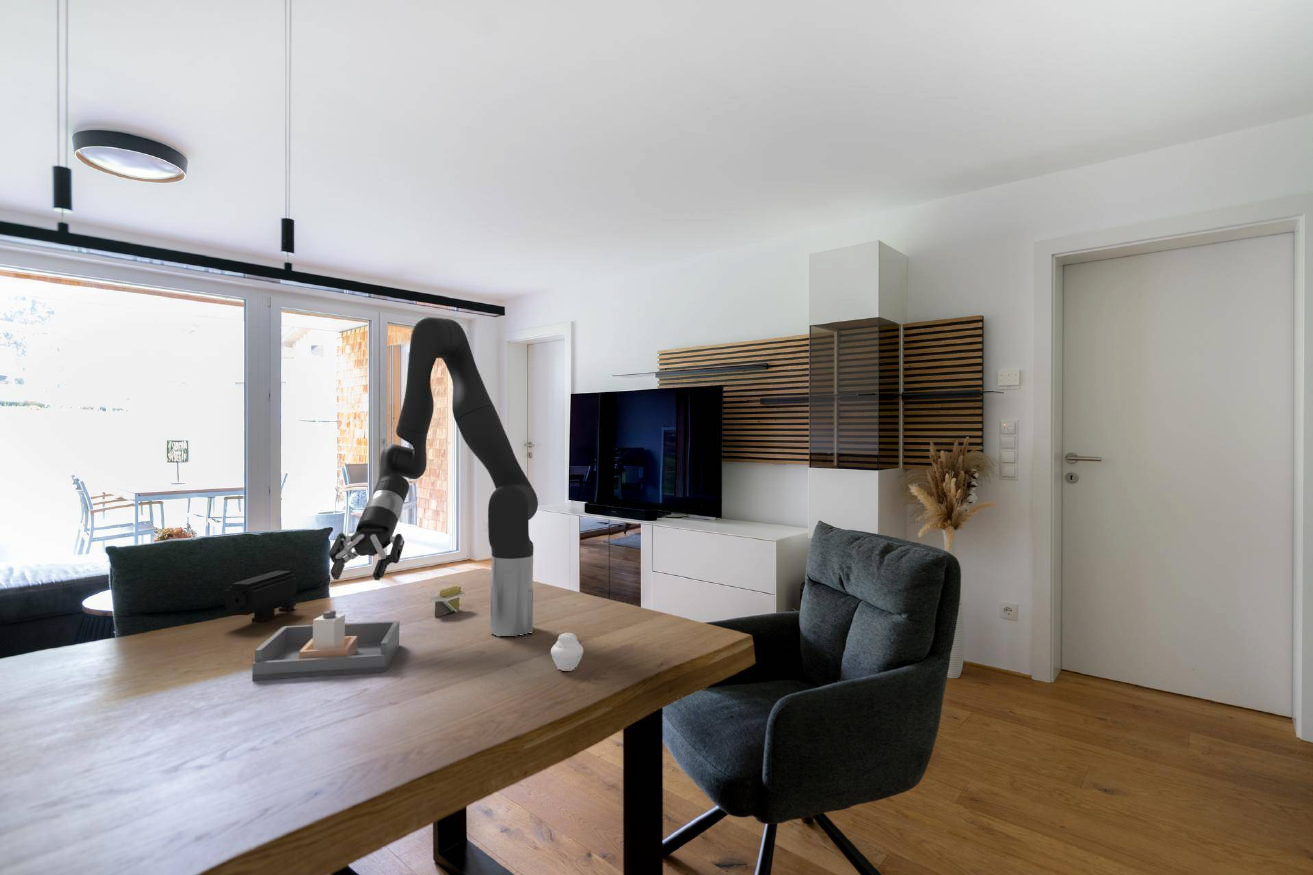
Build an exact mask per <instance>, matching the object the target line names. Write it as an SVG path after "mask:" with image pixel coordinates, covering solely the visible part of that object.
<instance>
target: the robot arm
mask: <svg viewBox="0 0 1313 875" xmlns="http://www.w3.org/2000/svg"><path fill="white" fill-rule="evenodd" d="M409 343H410V344H409V355H408V362H407V363H408V364H407V375H406V386H405V393H404V398H403V403H402V407H401V410H400V414H399V418H398V422H397V425H396V429H395V434H396V435H397V437H399V438H400V439H401V440H403V441H405V442H407V443H409V445H411V446H412V448H411V447H407V446H402V445H399V444H395V443H392V444H389V445H386V446H385V447H384V448H383V449H382V451H381V454H380V459H379V474H378V475H379V476H378V480H377V483H376V484H375V487H374V490H373V492H372V494H371V496H370V498H369V499H368V500H367V502H366V504H365V507H364V509H363V511H362V513H361V516H360V518H359V521H358V523H357V525H356V529H355V532H353V533H352V535H345V534H344V532H340V533H339V534H338V535H337V536H336V539H335V540H334V542H333V544H332V546H331V548H330V550H329V551H328V554H327V555H328V556H329V558H330V560H331V562H332V563H333V564H332V567H331V568H330V574H331V577H332V578H333V580H339V579H340V577H341V576H342V573H343V571H344V569H345V566H346V565H345V564H346V563H348V562H350V560H354V559H356V558H357V557H359V556H360V557H361V556H362V557H364V556H368V557H370V556H371V557H374V556H375V555H378V556H379V558H380V559H378V560H377V563H376V565H375V568H374V570H373V573H372V577H373V579H374V580H375V581H380V580H381V578H383V577H384V576H385V573H386V570H387V568H388V566H389V565H390V564H398V563H399V562H400V559H401V556H402V553H403V549H404V546H405V539H404V537H403V535H402V534H401V533H397V534H395V536H393V535H394V532H395V530H396V528H397V525H398V522H399V520H400V518H401V515H402V511H403V507H404V503H405V501H406V498H407V495H408V494H409V491H410V484H409V481H408V480H407V479H409V480H410V479H411V480H417V479H419V478H421V477H422V476H423V475H424V473H425V471H426V469H427V464H428V463H427V462H428V459H427V458H428V457H427V439H428V433H429V429H430V426H431V423H432V419H433V415H434V414H433V413H434V410H435V409H434V406H435V404H434V397H433V391H432V385H431V384H432V383H431V382H432V381H431V379H432V378H431V377H432V372H433V369H434V366H435V363H436V361H437V359H441V360H442V361H443V363H444V364H445V366H446V369H447V371H448V374H449V376H450V378H451V381H452V408H451V409H452V415H453V418H454V421H455V423H456V425H457V428H458V430H459V432H460V434H461V437H462V439H463V441H464V442H465V443H466V445H467V446H468V448H469V449H470V451H471V452H472V453H473V454H474V455H475V457H476V458H477V459H478V460H479V461H480V463H481V464H482V465H483V466H484V468H485V470H486V471H487V472H488V473H489V476H490V478H491V480H492V483H493V485H494V487H495V490H494V491H493V492H492V494H491V496H490V498H489V501H488V507H487V524H488V526H487V527H488V530H487V531H488V533H487V534H488V543H489V546H490V549H491V563H490V564H491V571H490V573H491V578H490V581H491V582H490V622H489V623H490V624H489V625H490V626H489V628H490V629H489V630H490V632H489V633H490V634H491V635H492V634H494V635H493V636H495V635H496V637H500V636H516V637H518V636H517V635H520V634H526V633H529V632H534V543H533V541H532V540H531V539H530V529H529V524H530V523H529V521H530V520H531V519H532V518H533V517H535V514H536V513H537V511H538V509H539V508H538V507H539V499H538V496H537V493H536V491H535V489H534V487H533V486H532V484H531V482H530V480H529V479H528V477H527V476H526V474H525V472H524V471H523V469H522V467H521V465H520V464H519V462H518V459H517V457H516V455H515V453H514V450H513V448H512V445H511V443H510V440H509V438H508V436H507V433H506V431H505V428H504V426H503V423H502V422H501V419H500V415H499V414H498V412H497V410H496V407H495V405H494V403H493V401H492V399H491V397H490V395H489V393H488V390H487V388H486V386H485V383H484V381H483V379H482V376H481V375H480V371H479V369H478V366H477V365H476V361H475V358H474V356H473V352H472V348H471V347H470V343H469V340H468V337H467V334H466V332H465V330H464V328H463V327H462V325H460V323H458V321H456V320H453V319H450V318H445V317H444V318H443V317H433V316H425V317H422V318H419V320H418V321H416V323H415V325H414V326H413V328H412V330H411V336H410V342H409ZM390 545H392V546H391V550H390V553H389V554H387V553H386V552H385V549H386V548H388V546H390ZM353 550H354V551H353ZM526 635H527V634H526Z"/></svg>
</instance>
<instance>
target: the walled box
mask: <svg viewBox="0 0 1313 875" xmlns="http://www.w3.org/2000/svg"><path fill="white" fill-rule="evenodd" d="M399 646H400V620H387V621H369V622H349V623H348V622H345V645H344V648H335V649H317V650H313V624H305V625H303V624H301V625H285V626H281V628H279V629H278V630H277V631H276V632H275V633H274V634H272V636H270V637H269V638H268V639H267V640H265V641H264V642H263V643H262V644H261V645H259V646H258V647H257V648H256V649H254V661H253V662H252V668H251V669H252V671H251V672H252V677H251V678H252V681H261V680H262V681H263V680H276V679H277V680H279V679H294V678H295V679H296V678H311V677H322V676H324V677H325V676H327V677H328V676H338V675H339V676H340V675H356V674H371V673H383V672H384V673H385V672H386V671H387V669H388V667H389V665H390V663H391V661H392V659H393V657H394V656H395V653H396V652H397V649H398V648H399Z"/></svg>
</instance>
